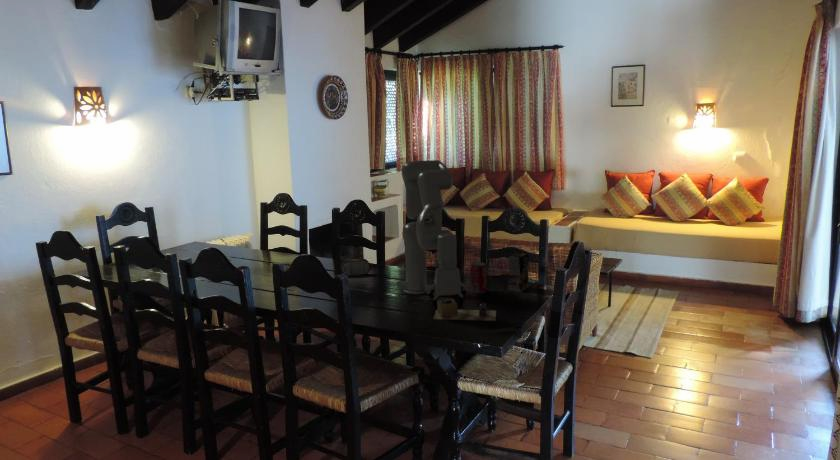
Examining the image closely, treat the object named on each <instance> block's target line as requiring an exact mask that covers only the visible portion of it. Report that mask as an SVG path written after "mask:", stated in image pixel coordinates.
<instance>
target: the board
mask: <svg viewBox="0 0 840 460" xmlns="http://www.w3.org/2000/svg"><path fill="white" fill-rule="evenodd" d="M443 300H444V304H448V303H450V300H447V299H443ZM432 320H453V321H454V320H457V321H488V322H489V321H491V322H493V321H494V322H495V321H497V310H492V309H491V310H488V309H487V316H479V309H457V316H453V317H442V318H441V316H440V315H439V314H438V313H437V310H435V313H434V315H433V317H432Z"/></svg>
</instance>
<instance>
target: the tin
mask: <svg viewBox="0 0 840 460" xmlns="http://www.w3.org/2000/svg"><path fill="white" fill-rule="evenodd" d="M339 265H340V266H339V270H340V272H341V274H342V275H343V274H347V275H348V276H347V277H356V276H357V277H358V276H365V275H367V274H368V273H370V271H371V264H370V262H369V261H368V260H367V259H366V258H350V259H349V258H347V259H344V260H343V261H342V262H341V263H340V264H339Z"/></svg>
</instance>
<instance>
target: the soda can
mask: <svg viewBox="0 0 840 460" xmlns="http://www.w3.org/2000/svg"><path fill="white" fill-rule="evenodd" d="M470 265H471V266H470V267H469V268H470V269H469V271H470V273H469V277H470V279H469V281H470V282H469V283H470V285H469V288H470V289H469V290H470V292H471V293H473V294H475V293H476V294H477V295H478V294H479V295H481V294H484V293H486V291H487V267H486V266H487V265H486V263H484V262H481V261H479V262H471V264H470Z"/></svg>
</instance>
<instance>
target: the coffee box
mask: <svg viewBox="0 0 840 460" xmlns="http://www.w3.org/2000/svg"><path fill="white" fill-rule="evenodd" d="M529 263H530V253H529V252H527V253H526V252H514V253H512V254H510V255H509V256H508V283H507V284H508V287H507V290H508V291H511V292H516V293H517V292H518V293H521V292H524V291H525V290H526V289H528V288H529V271H530V270H529V269H530V267H529V266H530V265H529Z"/></svg>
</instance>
